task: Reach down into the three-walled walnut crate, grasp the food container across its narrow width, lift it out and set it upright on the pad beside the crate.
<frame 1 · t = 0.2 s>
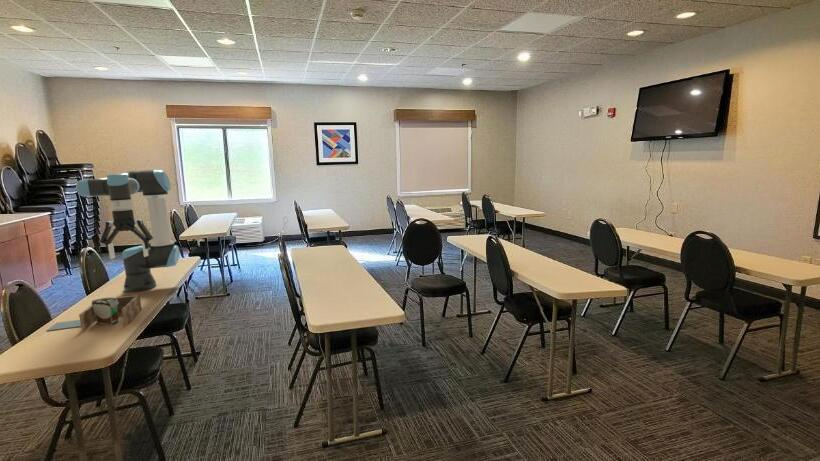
hand: (129, 257, 182), 27 cm above the table, fingers open, 13 cm apart
pad: (71, 324, 178), on the table
food container: (111, 321, 181), on the table
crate: (113, 319, 183), on the table
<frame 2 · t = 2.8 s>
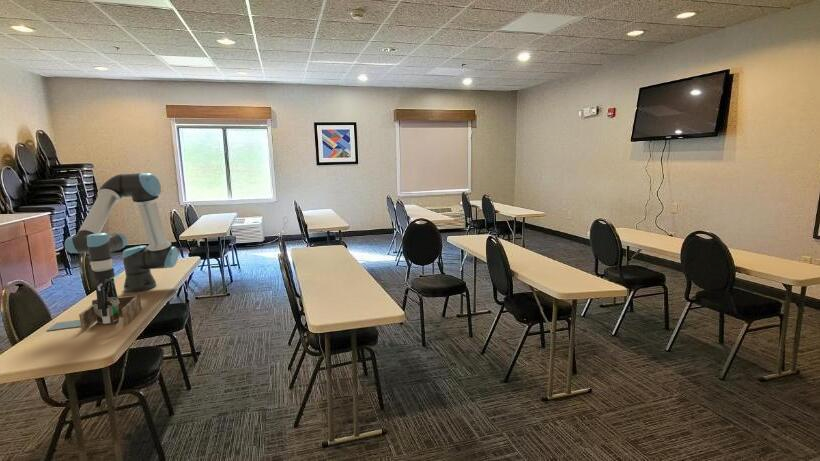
hand: (110, 319, 180), 1 cm above the table, fingers closed on food container, 8 cm apart
food container: (112, 321, 181), on the table, touching gripper
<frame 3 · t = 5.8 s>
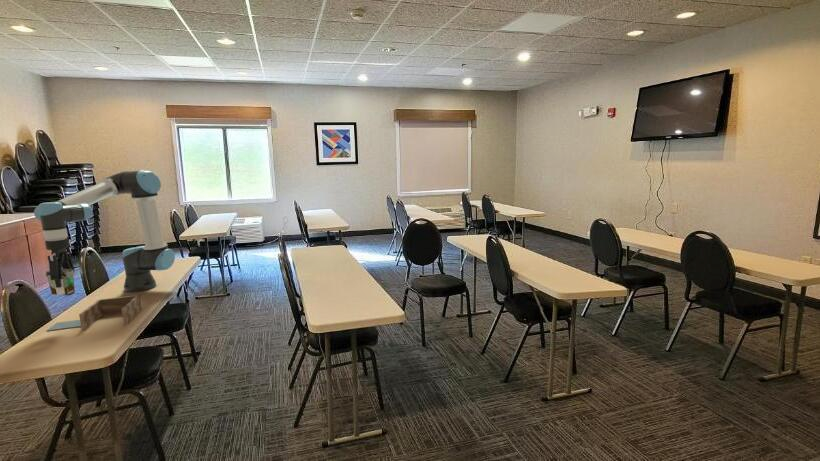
hand: (66, 291, 175), 15 cm above the table, fingers closed on food container, 8 cm apart
food container: (67, 293, 176), point 14 cm above the table, touching gripper
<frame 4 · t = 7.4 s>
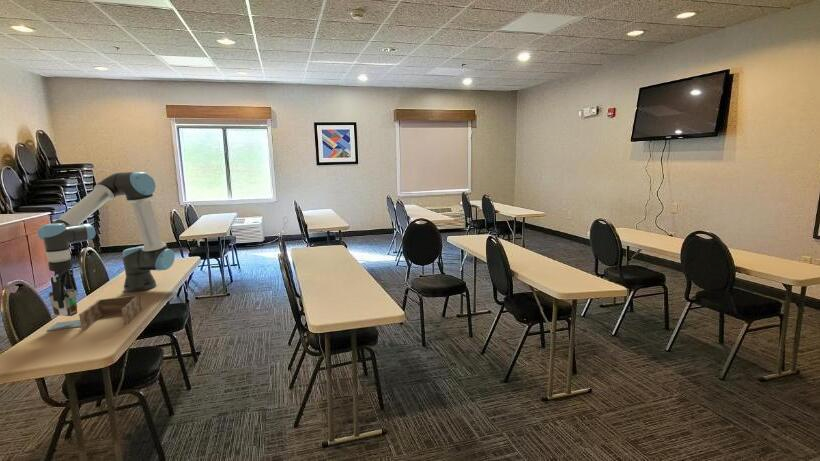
hand: (68, 311, 177), 6 cm above the table, fingers closed on food container, 8 cm apart
food container: (70, 313, 177), point 5 cm above the table, touching gripper
when the fingers open (3 cm above the table, at t = 8.6 s): food container moves 1 cm, point 2 cm above the table.
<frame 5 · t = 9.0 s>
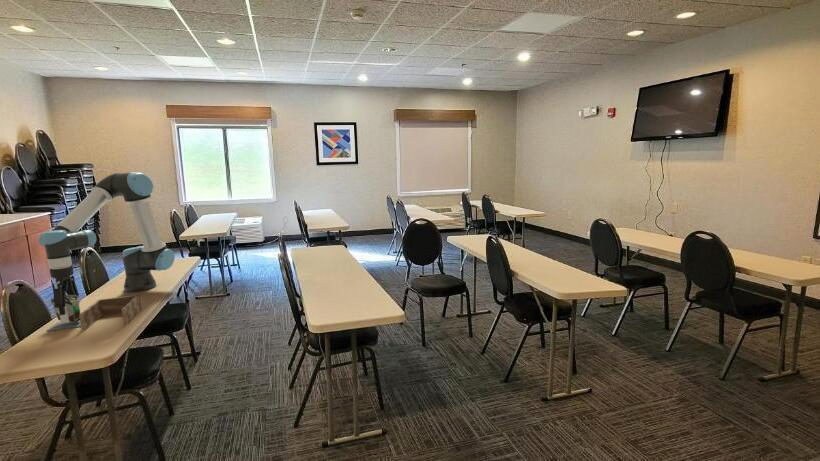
hand: (70, 317, 177), 3 cm above the table, fingers open, 9 cm apart
food container: (73, 318, 180), point 2 cm above the table, touching gripper
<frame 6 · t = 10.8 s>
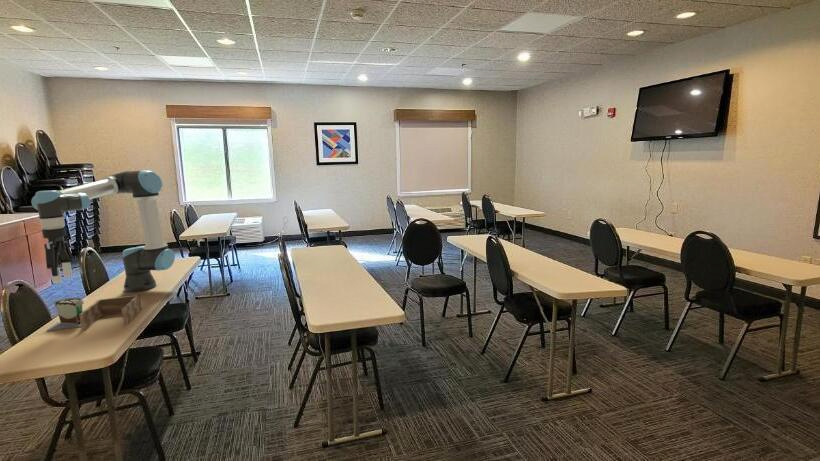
hand: (63, 280, 174), 20 cm above the table, fingers open, 9 cm apart
food container: (76, 321, 181), resting on pad
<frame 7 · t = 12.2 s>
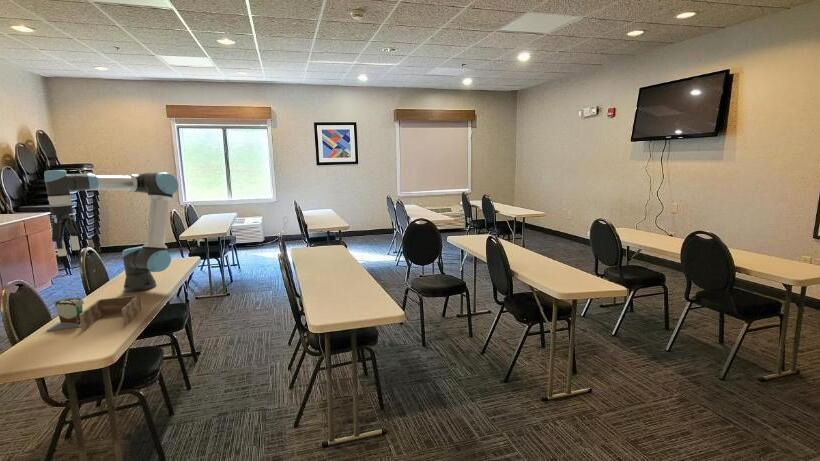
hand: (69, 252, 184), 29 cm above the table, fingers open, 12 cm apart
nothing on the table moved.
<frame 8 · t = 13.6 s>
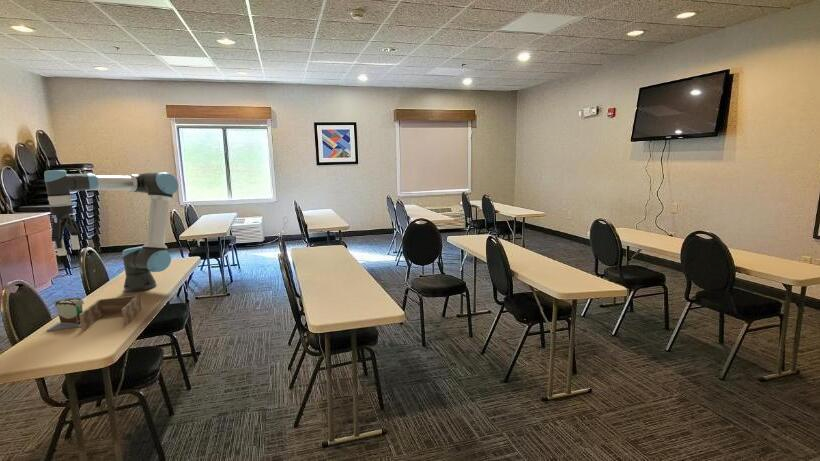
hand: (69, 252, 184), 30 cm above the table, fingers open, 13 cm apart
nothing on the table moved.
at the end: food container inside the target area on the pad (3.4 cm from its centre), point 0.2 cm above the pad's base; food container tilted 0°; the gripper is holding nothing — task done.
